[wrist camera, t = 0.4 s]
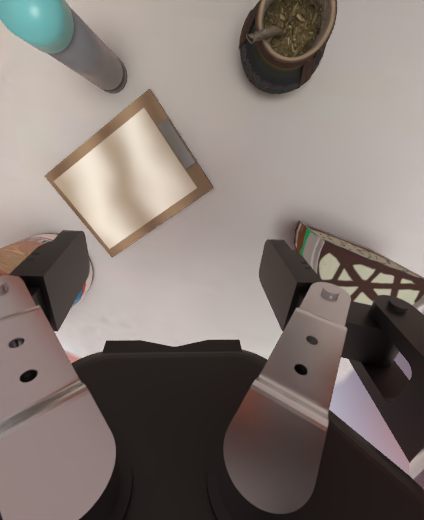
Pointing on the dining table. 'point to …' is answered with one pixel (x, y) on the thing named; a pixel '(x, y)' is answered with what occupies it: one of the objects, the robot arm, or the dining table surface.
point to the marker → (64, 39)
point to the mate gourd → (285, 42)
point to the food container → (356, 267)
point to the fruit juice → (15, 253)
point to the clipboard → (130, 175)
